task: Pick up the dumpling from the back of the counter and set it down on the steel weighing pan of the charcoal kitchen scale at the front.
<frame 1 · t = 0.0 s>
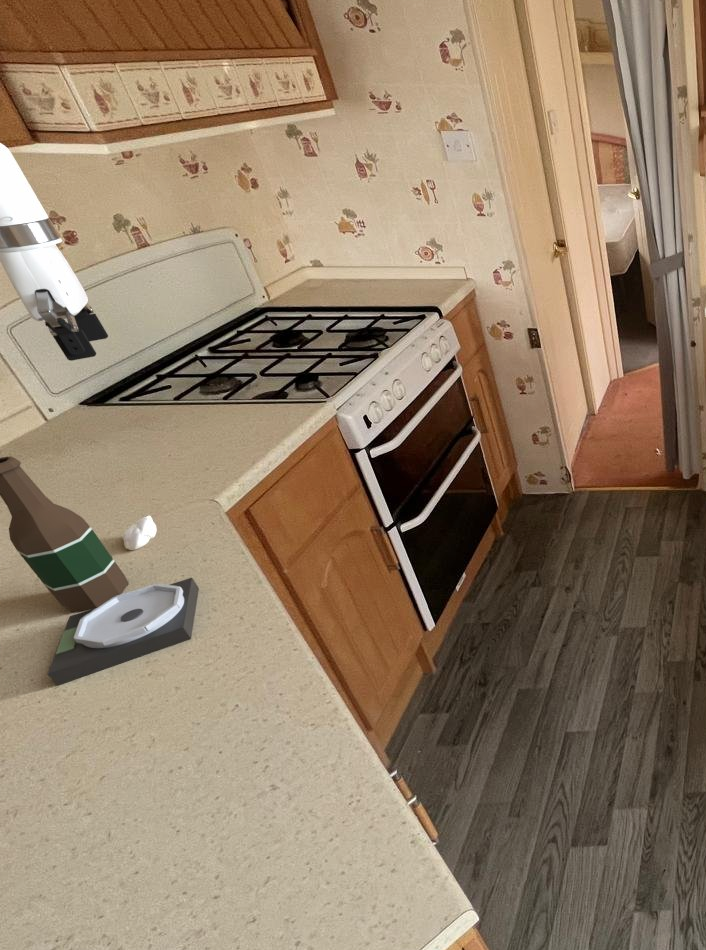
hand: (89, 348, 105), 32 cm above the counter, tool pointing down, fingers open, 9 cm apart
scale: (133, 633, 96), on the counter
beer bottle: (98, 596, 103), on the counter
dumpling: (144, 541, 115), on the counter
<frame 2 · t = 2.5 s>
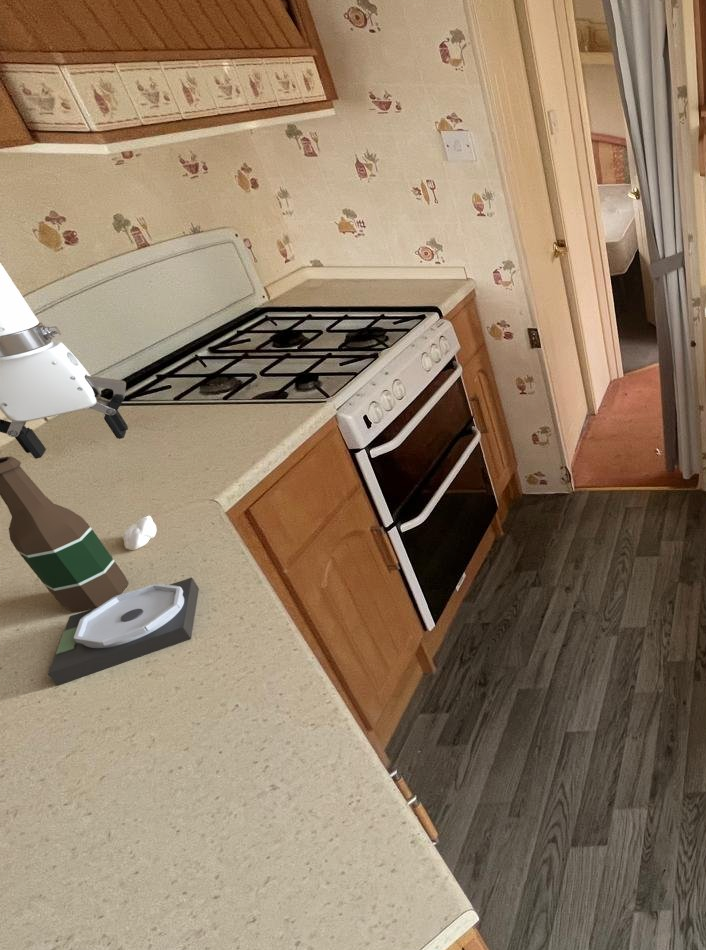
hand: (82, 444, 106), 19 cm above the counter, tool pointing down, fingers open, 9 cm apart
nothing on the counter moved.
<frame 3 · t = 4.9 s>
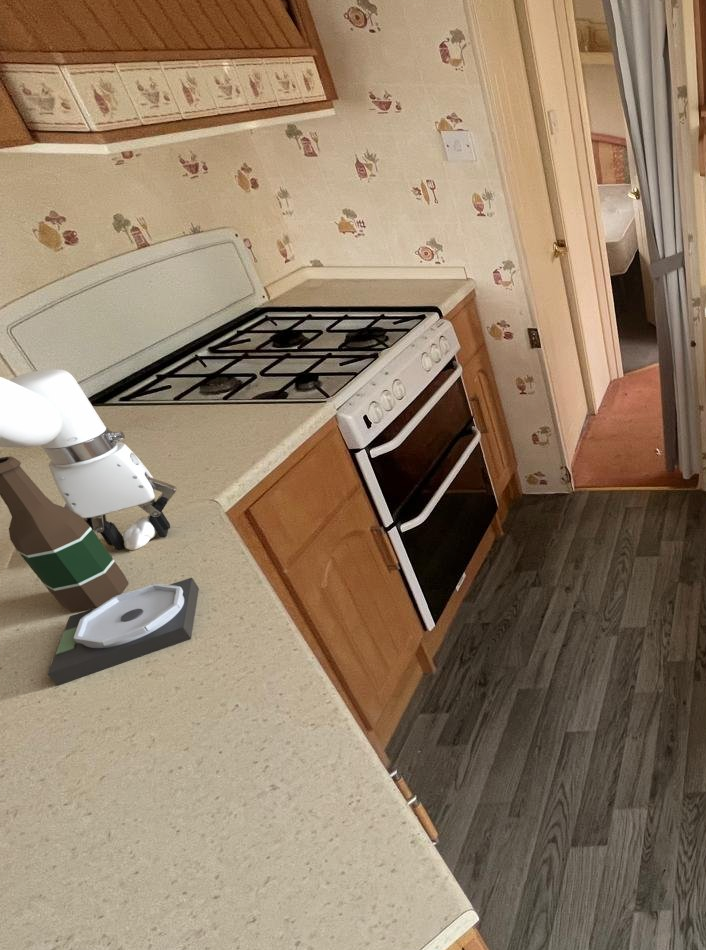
hand: (142, 538, 115), 0 cm above the counter, tool pointing down, fingers closed on dumpling, 5 cm apart
dumpling: (144, 541, 115), on the counter, touching gripper
everything else where it was.
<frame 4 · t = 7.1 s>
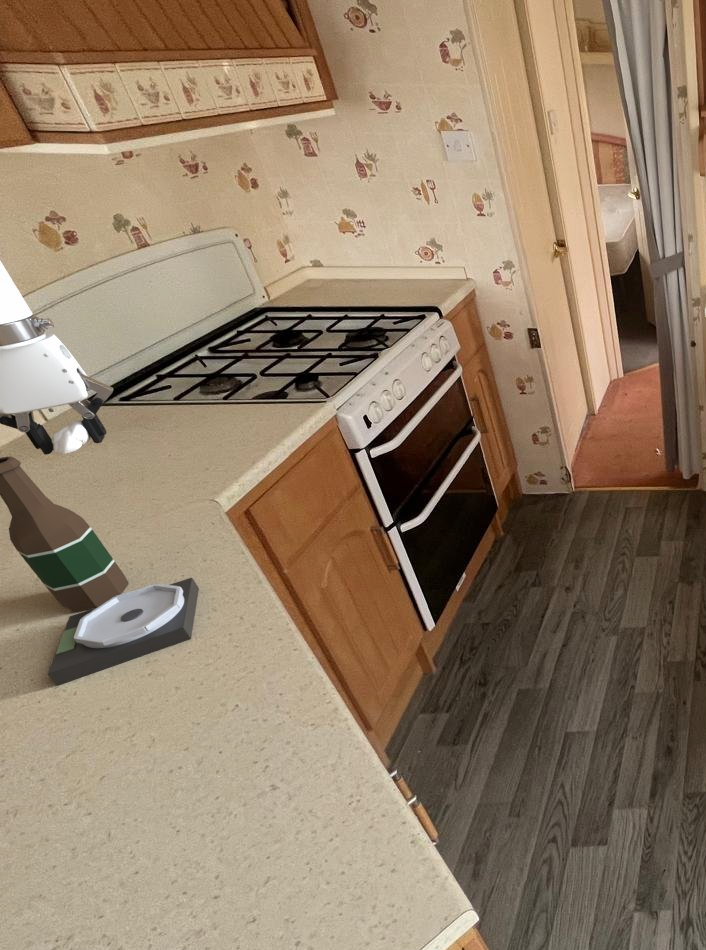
hand: (75, 444, 105), 19 cm above the counter, tool pointing down, fingers closed on dumpling, 5 cm apart
dumpling: (77, 448, 105), point 19 cm above the counter, touching gripper
everything else where it was.
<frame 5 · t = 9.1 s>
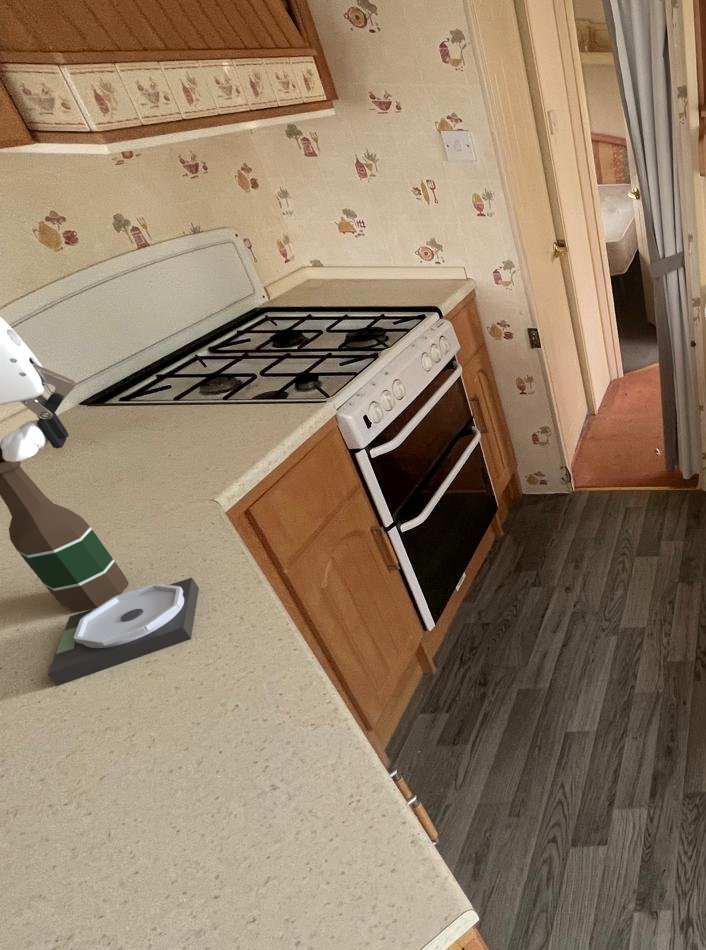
hand: (29, 449, 87), 27 cm above the counter, tool pointing down, fingers closed on dumpling, 5 cm apart
dumpling: (32, 453, 87), point 26 cm above the counter, touching gripper
everything else where it was.
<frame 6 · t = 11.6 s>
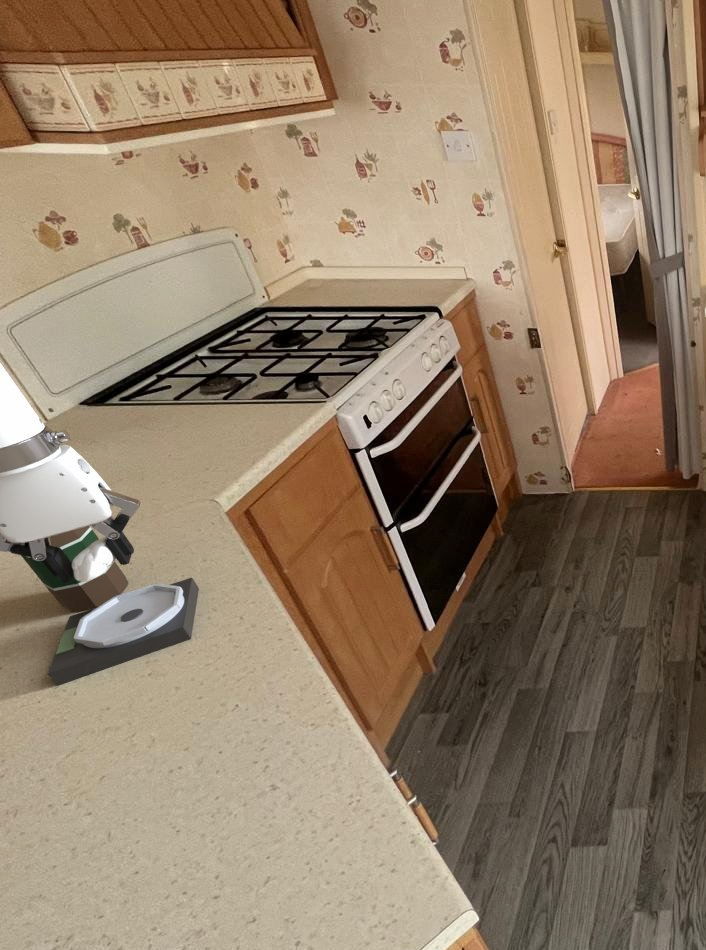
hand: (98, 566, 90), 12 cm above the counter, tool pointing down, fingers closed on dumpling, 5 cm apart
dumpling: (101, 570, 91), point 11 cm above the counter, touching gripper
everything else where it was.
when the fingers open (3 cm above the counter, at t = 13.3 s): dumpling stays where it is, resting on scale.
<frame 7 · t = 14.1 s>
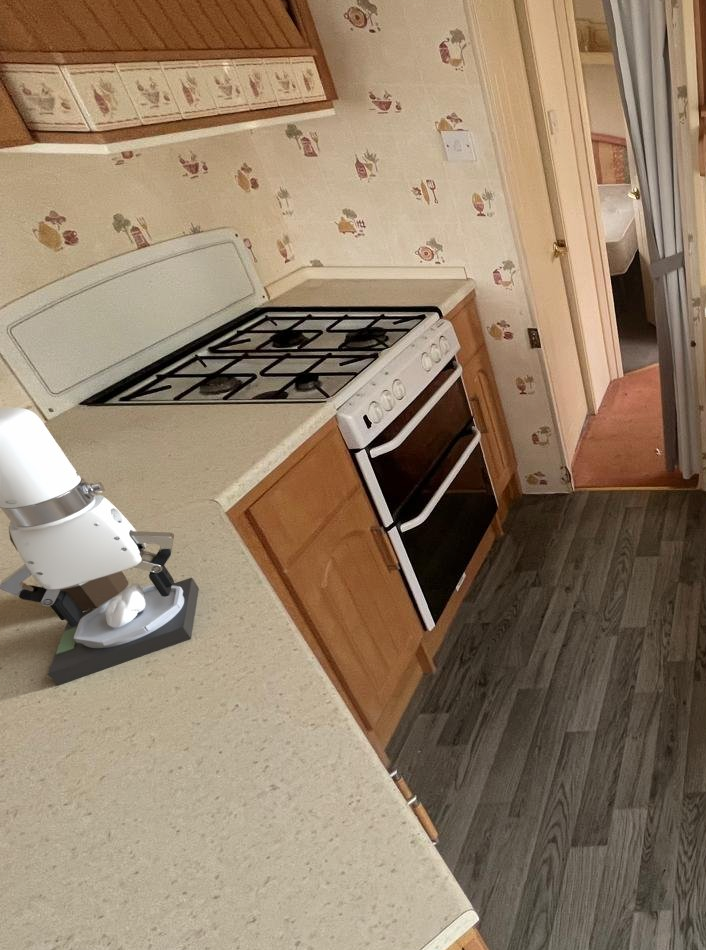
hand: (123, 605, 94), 5 cm above the counter, tool pointing down, fingers open, 9 cm apart
dumpling: (132, 615, 95), point 3 cm above the counter, touching scale
everything else where it was.
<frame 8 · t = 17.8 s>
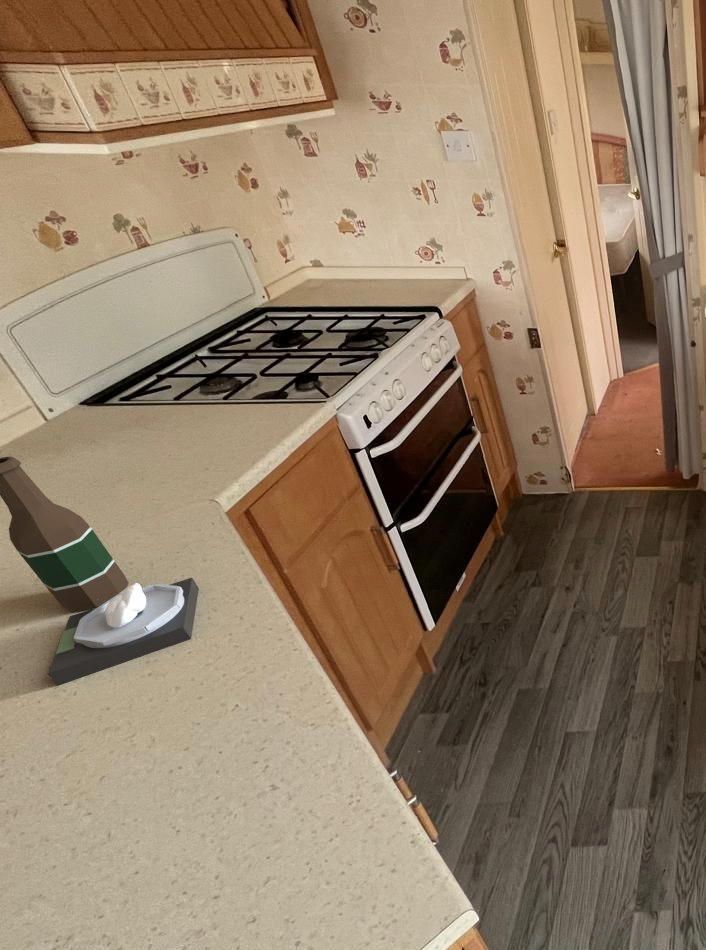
nothing on the counter moved.
at the end: dumpling inside the target area on the scale (0.0 cm from its centre), point 2.8 cm above the scale's base; the gripper is holding nothing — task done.
